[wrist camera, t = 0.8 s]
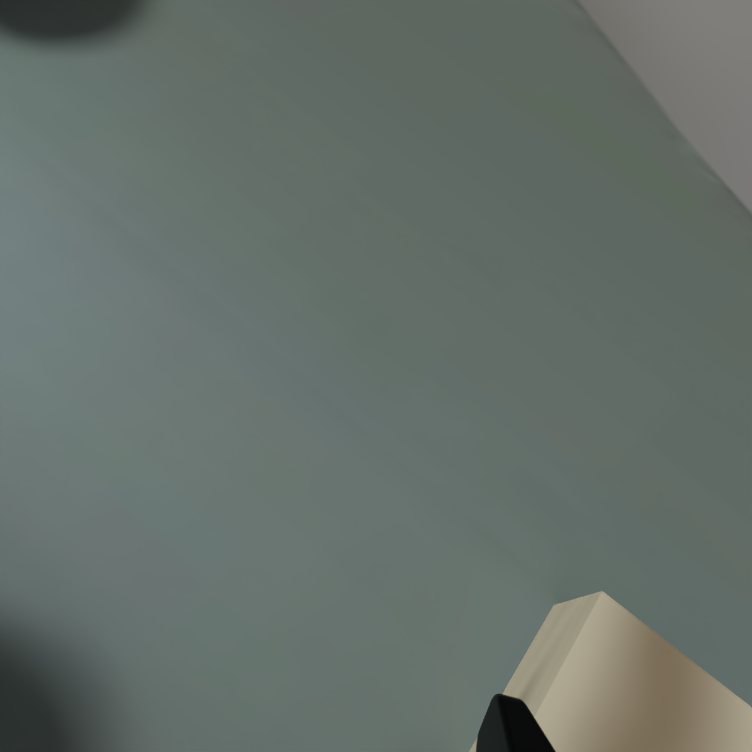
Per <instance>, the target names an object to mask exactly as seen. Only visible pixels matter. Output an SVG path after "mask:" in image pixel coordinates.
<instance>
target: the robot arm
mask: <svg viewBox="0 0 752 752" xmlns="http://www.w3.org/2000/svg"><path fill="white" fill-rule="evenodd" d="M476 752H556V751H555V749H554V748H553V746H552V745H551V743H550V741H549V740H548V738H547V737H546V735H545V734H544V732H543V730H542V729H541V727H540V726H539V724H538V722H537V721H536V719H535V718H534V716H533V715H532V713H531V711H530V710H529V708H528V707H527V705H526V704H525V703H524V702H523V701H522V700H521V699H519V698H515V697H511V696H507V695H503V694H496V695H495V696H494V697H493V698H492V700H491V702H490V705H489V707H488V710H487V712H486V715H485V717H484V720H483V722H482V725H481V727H480V730H479V733H478V737H477V745H476Z"/></svg>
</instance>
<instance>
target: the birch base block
mask: <svg viewBox="0 0 752 752" xmlns="http://www.w3.org/2000/svg"><path fill="white" fill-rule="evenodd" d="M503 695H507V696H511V697H515V698H519V699H521V700H522V701H523V702H524V703H525V704H526V705H527V707H528V708H529V710H530V711H531V713H532V715H533V716H534V718H535V719H536V721H537V722H538V724H539V726H540V727H541V729H542V730H543V732H544V734H545V735H546V737H547V738H548V740H549V741H550V743H551V745H552V746H553V748H554V749H555V751H556V752H752V707H750V706H749V705H748V704H747V703H745V702H744V701H743V700H741V699H740V698H739V697H738V696H736V695H735V694H734V693H732V692H731V691H730V690H729V689H727V688H726V687H725V686H723V685H722V684H721V683H720V682H718V681H717V680H716V679H714V678H713V677H712V676H711V675H709V674H708V673H707V672H706V671H704V670H703V669H702V668H700V667H699V666H698V665H697V664H695V663H694V662H693V661H691V660H690V659H689V658H688V657H686V656H685V655H684V654H682V653H681V652H680V651H679V650H677V649H676V648H675V647H673V646H672V645H671V644H670V643H668V642H667V641H666V640H664V639H663V638H662V637H661V636H659V635H658V634H657V633H655V632H654V631H653V630H652V629H650V628H649V627H648V626H646V625H645V624H644V623H643V622H641V621H640V620H639V619H637V618H636V617H635V616H634V615H632V614H631V613H630V612H628V611H627V610H626V609H625V608H623V607H622V606H621V605H619V604H618V603H617V602H616V601H614V600H613V599H612V598H610V597H609V596H608V595H607V594H605V593H604V592H603V591H601V592H597V593H594V594H590V595H587V596H583V597H580V598H576V599H573V600H570V601H566V602H563V603H559V604H556V605H553V607H552V609H551V611H550V612H549V614H548V616H547V618H546V619H545V621H544V623H543V624H542V626H541V628H540V630H539V631H538V633H537V635H536V637H535V638H534V640H533V642H532V644H531V645H530V647H529V649H528V651H527V652H526V654H525V656H524V657H523V659H522V661H521V663H520V664H519V666H518V668H517V670H516V671H515V673H514V675H513V677H512V678H511V680H510V682H509V684H508V685H507V687H506V689H505V690H504V692H503ZM476 745H477V739H476V741H475V743H474V744H473V746H472V748H471V750H470V751H469V752H476Z"/></svg>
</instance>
